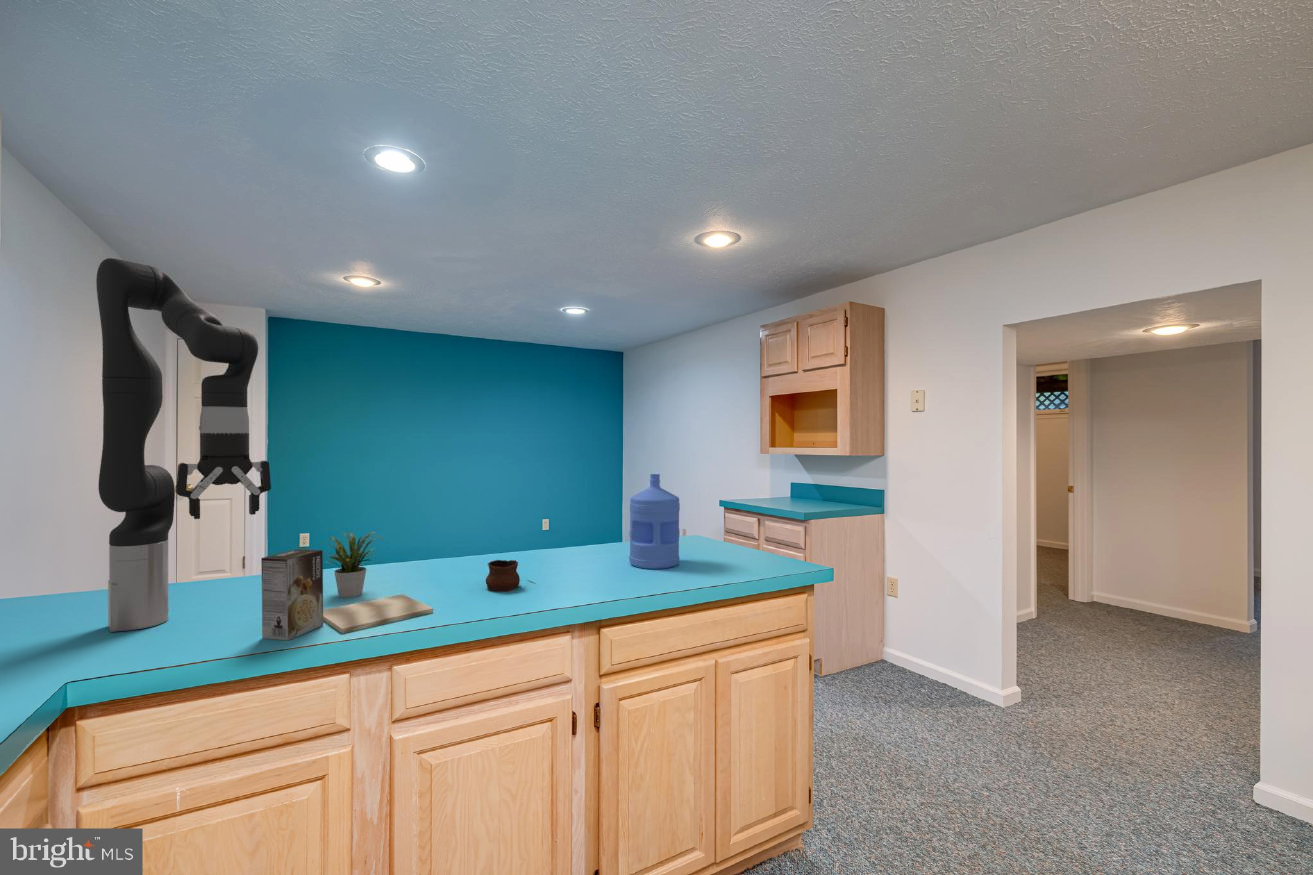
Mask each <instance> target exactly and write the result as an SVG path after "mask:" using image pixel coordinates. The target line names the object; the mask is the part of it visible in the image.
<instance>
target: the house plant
mask: <svg viewBox="0 0 1313 875" xmlns="http://www.w3.org/2000/svg"><path fill="white" fill-rule="evenodd" d="M345 531H346V533H347V534H346V533H345V532H343V535H344V536H345V537H346V540H347V543H348V547H349V553H348V550H347V549H346V548H345V546H344V545H343V543H342V542H341V541H340V540H339V539H337V538H336V537H334V536H332V535H331V536H330V535H329V537H330V538H331V539H332V540H333V541H334V543H335V544H336V547H335V546H334V545H332V544H331V543H329V542H325V544H328V545H329V546H330V547H332V548H333V549H334V550H335V553H336V554H333V555H325V557H327V558H331V559H333V560H334V561H331V560H329V561H326V562H325V564H329V563H330V564H331V563H332V564H335V565H336V566H338V568H337V569H335V570H334V577H335V583H336V589H337V593H338V594H337V595H338V597H339V598H345V599H346V598H353V597H358V596H361V595H362V594H363V592H364V586H365V579H366V574H367V567H364V566H361V564H362V563H363V562H367V561H369V562H372V559H369V558H368V557H373V558H374V559H376V557H375V555H374V554H370V555H369V553H371V551H372V550H375V549H376V548H371V549H369V550H367V551H366V549H367V548H368V546H369V545H370V544H371V543H372V542H373V541H374V540H376V539H378V538H379V537H381V538H382V537H383V535H378V536H374V537H373V538H371V539H370V540H369V541H368V542H367V539H368V538H369V537H370V536H371V535H372V534H374V533H377V532H378V531H372V532H370V533H368V534H366V535H365V534H364V535H363V538H362V536H360V537H359V538H358V540H357V539H356V538H357V537H356V536H355V535H354V533H352V532H350V534H349V533H348V532H347V530H345ZM361 539H362V540H361ZM321 542H323V543H324V540H323V541H321ZM366 542H367V544H366ZM364 544H365V545H364ZM363 545H364V547H363ZM362 547H363V549H362ZM361 549H362V550H361ZM360 551H361V552H360ZM365 551H366V552H365ZM365 558H367V559H365ZM335 560H336V562H338V563H340V565H339V564H338V563H336V562H335Z"/></svg>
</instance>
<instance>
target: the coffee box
mask: <svg viewBox="0 0 1313 875" xmlns="http://www.w3.org/2000/svg"><path fill="white" fill-rule="evenodd" d="M323 554H324V551H323V549H303V548H297V549H292V550H288V551H285V552H280V553H276V554H272V555H269V556H268V555H267V556H265V557H261V562H260V564H261V637H262V639H267V640H278V641H279V640H280V641H287V642H288V641H291V640H292V639H295V638H297V637H300V636H302V635H304V634H306V633H310V631H313V630H316V629H318V628H320V627H322V626H324V621H323V610H324V570H323V569H324V568H323V566H324V564H323V563H324V561H323V560H324V559H323V558H324V556H323Z"/></svg>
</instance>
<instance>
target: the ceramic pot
mask: <svg viewBox="0 0 1313 875" xmlns="http://www.w3.org/2000/svg"><path fill="white" fill-rule="evenodd" d="M487 566H488V569H489V570H488V571H489V572H488V575H487V576H486V578H485V584H486V587H487V589H488V590H489V591H492V592H498V593H503V592H511V591H515V590H517V589H518V588H519V586H520V581H521V577H520V575H519V573H518V571H517V569H518V566H519V562H518V561H517V560H516V559H511V560H506V559H505V560H501V559H496V560H491V561H489V562H488V563H487ZM526 581H528V583H530V584H535V585H536V582H534V581H531V580H529V579H528V580H526Z"/></svg>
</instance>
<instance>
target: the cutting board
mask: <svg viewBox="0 0 1313 875" xmlns="http://www.w3.org/2000/svg"><path fill="white" fill-rule="evenodd" d="M433 613H434V607H431V606H429V605H428V604H425V603H423V602H420V601H418V600H417V599H414V598H412V597H410V596H408V595H405V594H403V593H401V594H398V595H392V596H387V597H381V598H377V599H373V600H372V599H371V600H365V601H361V602H356V603H353V604H346V605H342V606H336V607H332V608H326V609H323V622H325V623H326V624H327V625H329V626H330V627H332V628H333V629H335V631H338V632H339V633H340V634H348V633H350V632H356V631H360V630H363V629H369V628H371V627H373V628H374V627H377V626H381V625H382V626H383V625H386V624H391V623H394V622H399V621H402V620H403V621H404V620H408V619H411V618H417V617H421V616H425V615H429V614H433Z"/></svg>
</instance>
